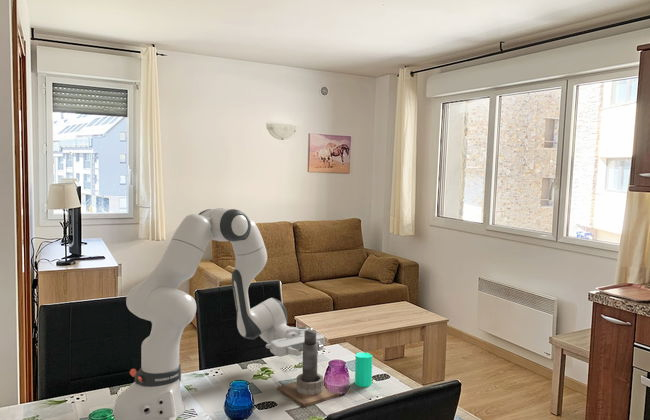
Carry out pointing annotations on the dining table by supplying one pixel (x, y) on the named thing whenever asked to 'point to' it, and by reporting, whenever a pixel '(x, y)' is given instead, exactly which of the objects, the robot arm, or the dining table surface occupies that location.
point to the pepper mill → (310, 356)
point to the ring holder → (307, 391)
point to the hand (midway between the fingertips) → (310, 350)
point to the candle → (363, 369)
